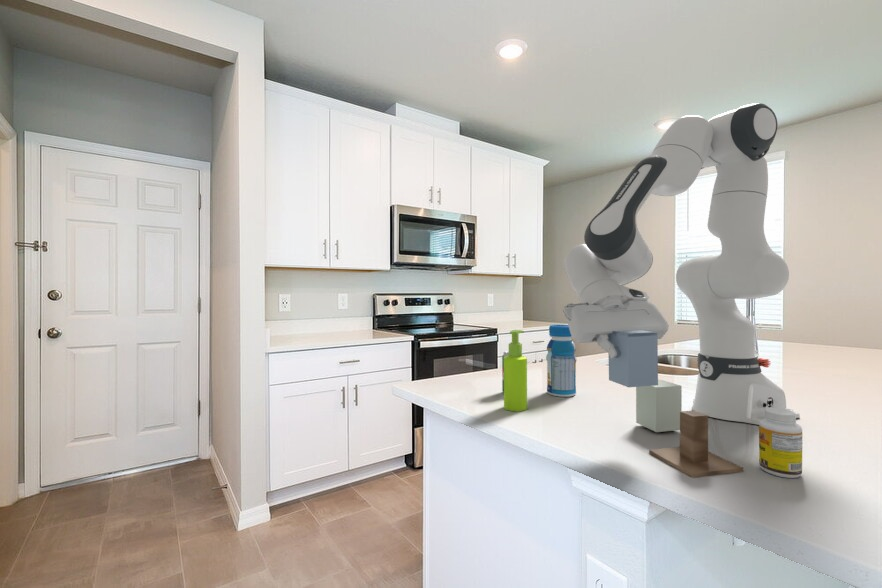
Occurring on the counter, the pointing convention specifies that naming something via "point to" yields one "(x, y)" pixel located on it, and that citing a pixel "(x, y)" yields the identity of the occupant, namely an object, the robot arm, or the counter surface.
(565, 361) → the beverage bottle
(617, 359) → the pale blue tall block
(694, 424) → the post
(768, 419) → the supplement bottle
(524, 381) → the soap dispenser
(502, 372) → the soda can
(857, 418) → the counter surface
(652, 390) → the pale green block
